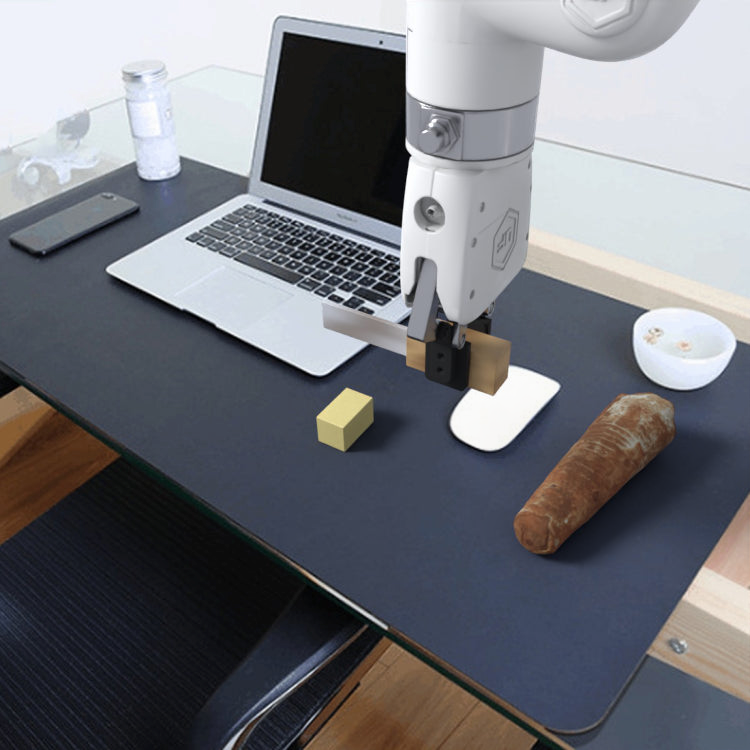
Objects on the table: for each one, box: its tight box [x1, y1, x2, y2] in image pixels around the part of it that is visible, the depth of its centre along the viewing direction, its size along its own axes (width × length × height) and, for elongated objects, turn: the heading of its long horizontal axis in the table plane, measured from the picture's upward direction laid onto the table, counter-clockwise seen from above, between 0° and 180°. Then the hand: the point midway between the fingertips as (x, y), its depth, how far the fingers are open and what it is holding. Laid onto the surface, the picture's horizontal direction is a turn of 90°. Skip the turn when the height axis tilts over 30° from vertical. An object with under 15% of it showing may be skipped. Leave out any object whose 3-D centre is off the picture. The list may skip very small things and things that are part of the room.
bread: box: [512, 391, 677, 555], centre depth 67 cm, size 6×19×6 cm, turn 135°
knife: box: [321, 299, 512, 397], centre depth 58 cm, size 15×2×3 cm, turn 58°
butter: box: [315, 387, 374, 453], centre depth 74 cm, size 5×3×3 cm, turn 148°
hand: (456, 369), depth 57 cm, fingers closed on knife, 2 cm apart
